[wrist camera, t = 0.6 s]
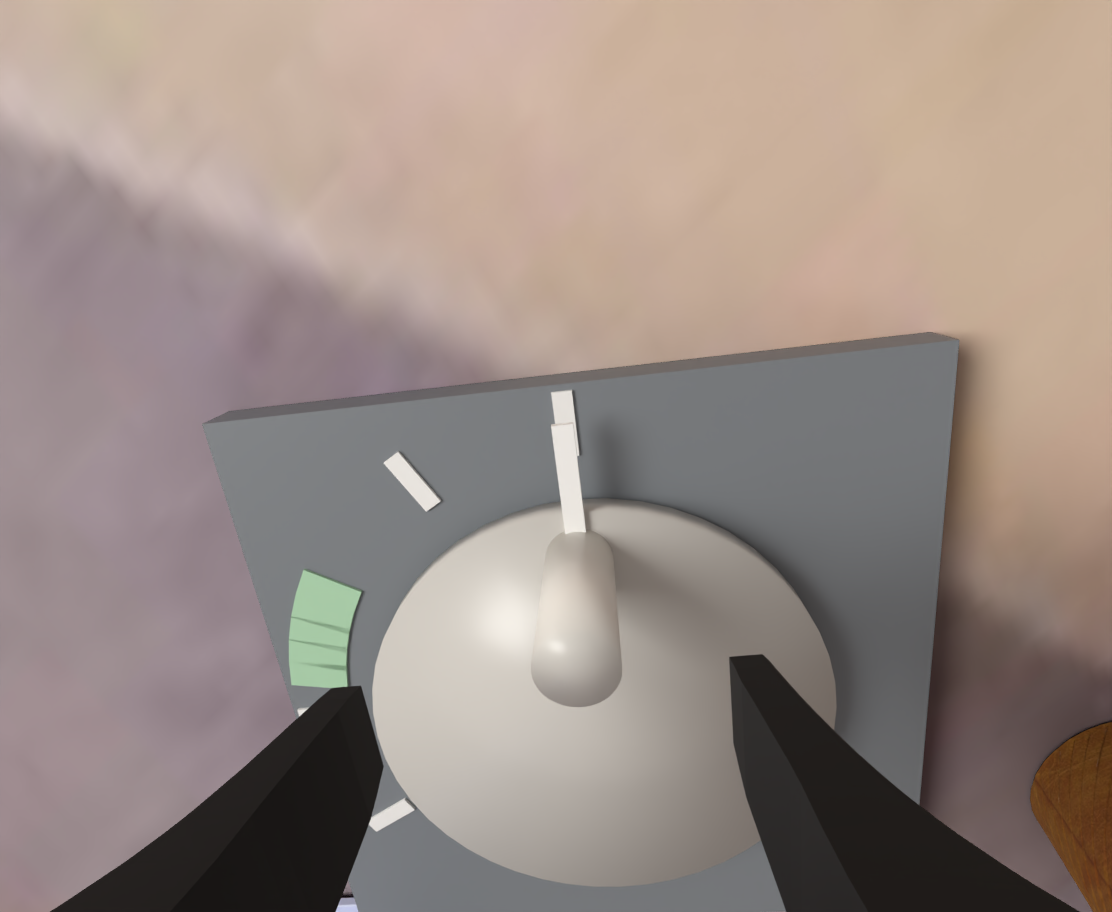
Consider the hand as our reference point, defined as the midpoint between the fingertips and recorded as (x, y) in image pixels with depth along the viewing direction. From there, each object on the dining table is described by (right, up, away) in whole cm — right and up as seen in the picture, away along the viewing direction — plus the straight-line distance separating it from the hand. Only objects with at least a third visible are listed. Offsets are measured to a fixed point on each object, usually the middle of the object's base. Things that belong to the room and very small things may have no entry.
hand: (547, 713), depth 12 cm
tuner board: (+2, -3, +11) cm, 11 cm away
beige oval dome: (+1, -2, +9) cm, 9 cm away
